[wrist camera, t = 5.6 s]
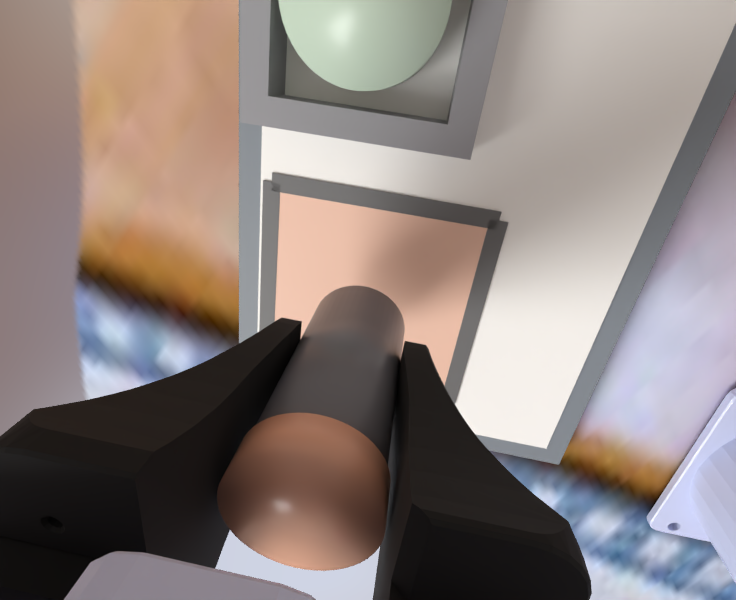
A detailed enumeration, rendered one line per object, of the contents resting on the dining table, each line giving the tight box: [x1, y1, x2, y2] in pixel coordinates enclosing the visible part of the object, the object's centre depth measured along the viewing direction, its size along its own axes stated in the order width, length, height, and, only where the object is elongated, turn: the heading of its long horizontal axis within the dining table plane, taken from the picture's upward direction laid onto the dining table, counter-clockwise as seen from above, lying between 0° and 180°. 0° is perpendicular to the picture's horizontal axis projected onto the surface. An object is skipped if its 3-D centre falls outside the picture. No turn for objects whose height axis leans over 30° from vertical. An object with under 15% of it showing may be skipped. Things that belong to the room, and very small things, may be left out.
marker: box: [217, 286, 405, 571], centre depth 11 cm, size 3×3×7 cm
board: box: [239, 0, 736, 465], centre depth 14 cm, size 14×20×2 cm
